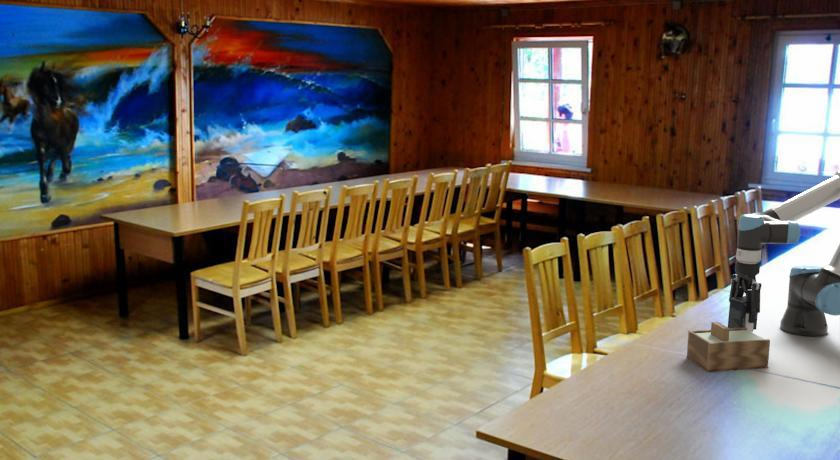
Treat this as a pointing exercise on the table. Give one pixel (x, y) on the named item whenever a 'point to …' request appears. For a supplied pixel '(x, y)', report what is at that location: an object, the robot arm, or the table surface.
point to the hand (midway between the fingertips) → (742, 328)
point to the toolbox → (727, 353)
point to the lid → (727, 334)
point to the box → (739, 313)
